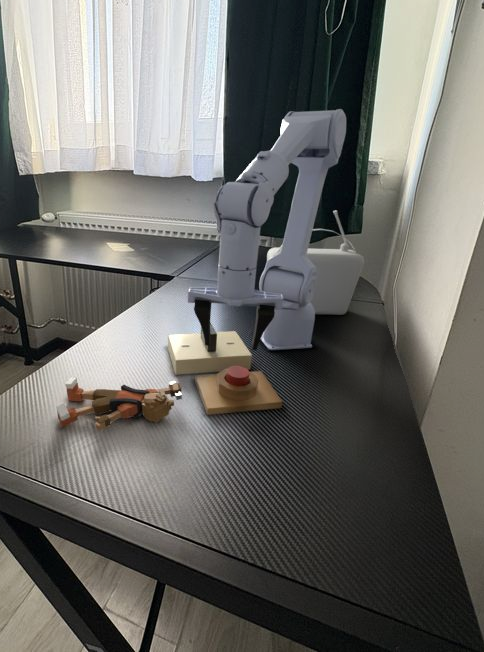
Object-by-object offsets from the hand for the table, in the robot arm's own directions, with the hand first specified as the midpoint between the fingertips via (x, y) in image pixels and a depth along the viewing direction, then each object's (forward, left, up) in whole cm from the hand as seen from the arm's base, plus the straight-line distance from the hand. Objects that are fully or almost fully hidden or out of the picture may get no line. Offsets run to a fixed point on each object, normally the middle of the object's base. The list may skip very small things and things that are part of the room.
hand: (230, 345), depth 62 cm
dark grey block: (+1, -9, -4) cm, 10 cm away
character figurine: (+18, +5, -8) cm, 21 cm away
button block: (-1, +3, -8) cm, 8 cm away
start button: (-1, +3, -5) cm, 6 cm away
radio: (-30, -30, -8) cm, 43 cm away
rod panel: (+1, -9, -8) cm, 12 cm away
